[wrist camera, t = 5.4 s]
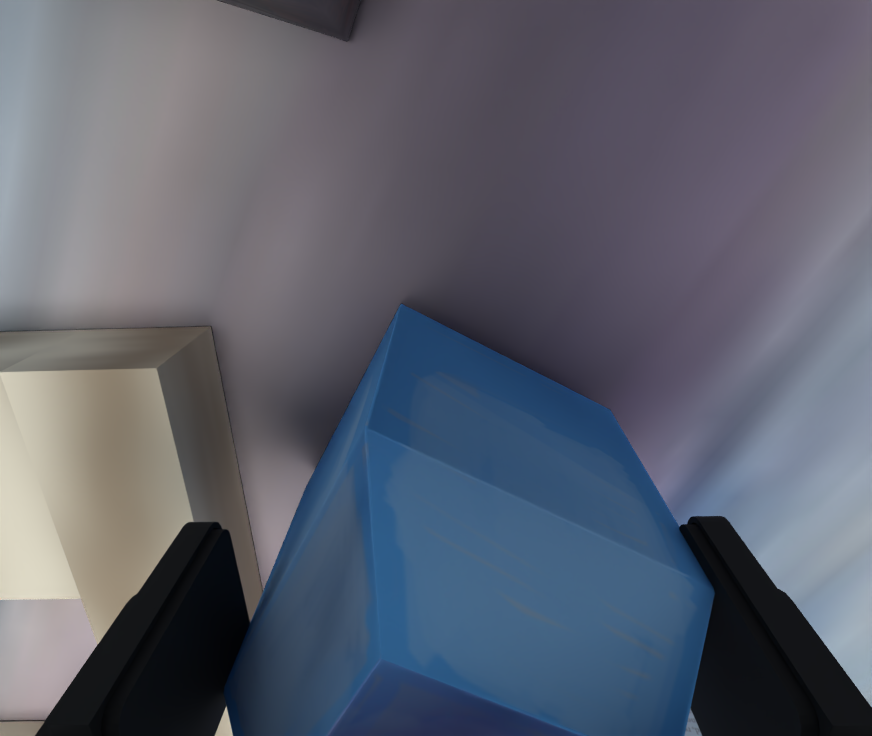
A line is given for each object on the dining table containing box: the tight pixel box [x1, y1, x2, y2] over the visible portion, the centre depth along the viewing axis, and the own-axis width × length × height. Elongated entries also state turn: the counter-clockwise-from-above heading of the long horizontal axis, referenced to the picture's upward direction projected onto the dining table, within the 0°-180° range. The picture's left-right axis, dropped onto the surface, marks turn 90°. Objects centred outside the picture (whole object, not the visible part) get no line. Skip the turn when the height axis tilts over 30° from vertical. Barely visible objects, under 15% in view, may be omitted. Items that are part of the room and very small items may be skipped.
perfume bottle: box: [224, 304, 715, 736], centre depth 9 cm, size 6×6×12 cm
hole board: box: [0, 326, 263, 736], centre depth 18 cm, size 16×22×3 cm
